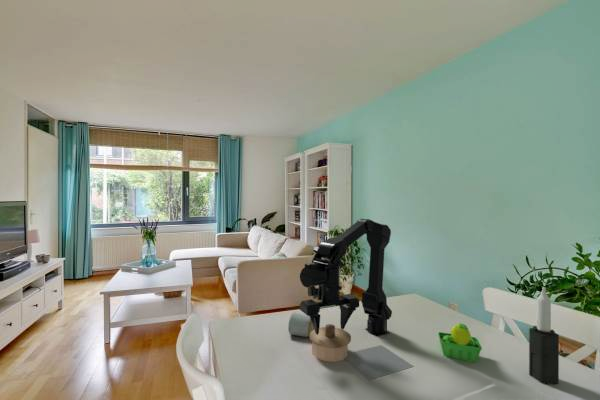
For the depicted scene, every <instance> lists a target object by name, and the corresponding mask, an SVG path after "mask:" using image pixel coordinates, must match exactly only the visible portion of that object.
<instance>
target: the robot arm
mask: <svg viewBox="0 0 600 400" xmlns="http://www.w3.org/2000/svg"><path fill="white" fill-rule="evenodd" d="M364 235H366V241H367V243H368V246H369V247H370V254H369V255H370V256H369V266H368V267H369V268H368V269H369V271H368V287H367V288H366V290H365V291H362V293H361V305H362V308H363V312H364V314H367V321H366V322H367V323H366V324H367V325H366V328H365V330H366V331H367V332H368V333H370V334H371V335H373V336H374V337H380V336H384V335H388V334H391V332H390V331H389V330H388V320H390V319H391V318H392V314H393V311H392V309H391V308H390V306H388V302H387V299H388V298H387V295H386V294H385V292H384V290H383V286H384V284H383V283H384V266H385V265H384V264H385V263H384V262H385V249H386V248H387V246H388V244H389V243H390V240H391V235H392V231H391V228H390V227H389V225H387V224H382V223H379V222H375V221H374V220H371V219H369V218H360V219H357V220H356V221H355V223H354V224H352V225H351V226H349V227H348V228H347V229H345V230H344V231H343V232H341V233H339V234H338V235H337V236H334V237H331V238H326V239H325V240H322V242H320V243H319V245H318V248H317V250H316V252H315V254H314V255H313V257H312V259H311V263H309V262H306V263H304V267H302V269H301V270H300V272H299V281H300V282H301V284H302V286H303V287H305V288H307V295H308V297H312V298H313V299H307V300H306V299H305V300H301V302H300V304H299V311H300V312H302V314H306V315H308V316H310V319H311V321H312V324H313V327H314V330H315V333H316V334H317V335H318V334H319V328H320V324H321V314H320V312H321V310H322V309H328V308H333V307H334V308H335V307H339V310H340V329H342V330H345V327H346V325H347V323H348V322H349V319H350V318H351V316H352V314H353V313H354V311H356V310H357V309H358V308H360V301H359V298H358V297H356V296H354V295H352V294H350V293H346V294H340V291H342V290H343V288H342V287H343V286H342V285H340V279H341V278H340V275H341V274H340V272H341V271H340V270H341V269H340V268H341V267H344V266H345V264H344V262H342V261H341V260H342V259H343V258H344V257H345V255H346V254H347V250H348V248H349V247H350V246H351V245H353V244H354V243H355V242H356V241H358V240H359V239H360V238H361V237H363V236H364ZM316 286H318V287H316ZM314 299H315V300H316V299H317V300H318V301H319V302H316V301H315V300H314Z"/></svg>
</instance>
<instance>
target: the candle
mask: <svg viewBox="0 0 600 400" xmlns="http://www.w3.org/2000/svg"><path fill="white" fill-rule="evenodd" d="M541 289H542V290H541V292H540V294H539V295H538V297H537V298H536V325H534V326H533V327H530V328H529V329H528V331H529V333H528V334H529V335H528V336H529V337H528V340H529V341H528V342H529V343H528V348H529V349H528V351H529V352H528V369H529V370H528V375H529V376H530V377H532V378H534V379H535V380H536V381H538V382H539V383H541V384H542V385H558V384H559V381H560V380H559V374H560V373H559V370H560V368H559V366H560V363H559V362H560V361H559V360H560V359H559V355H560V353H559V349H560V343H559V342H560V337H559V334H558V333H556V332H555V330H554V329H552V328H551V327H552V326H551V324H552V315H551V314H552V301H551V298H549V296H548V293H547V288H546V287H545V286H542V288H541Z"/></svg>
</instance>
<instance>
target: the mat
mask: <svg viewBox="0 0 600 400" xmlns="http://www.w3.org/2000/svg"><path fill="white" fill-rule="evenodd" d="M344 360H345V361H346V362H347V363H348V364H349V365H351V366H352V367H354V369H356V370H357V371H358V372H359V373H360V374H362V376H364V377H365V378H366V379H367V380H368V381H370V380H371V381H372V380H375V379H377V378H381V377H384V376H388V375H391V374H394V373H397V372H401V371H404V370H407V369H410V368H413V367H414V366H415V365H413V364H411V362H408V361H407V360H405V359H404V358H402V357H401V356H399V355H397V353H395V352H394V351H393V352H392V351H391V350H390V349H388V348H386V347H385V346H383V345H382V344H380V345H375V346H371V347H368V348H367V347H366V348H363V349H359V350H355V351H352V352H348V355H347V356H346V357H345V358H344Z"/></svg>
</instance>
